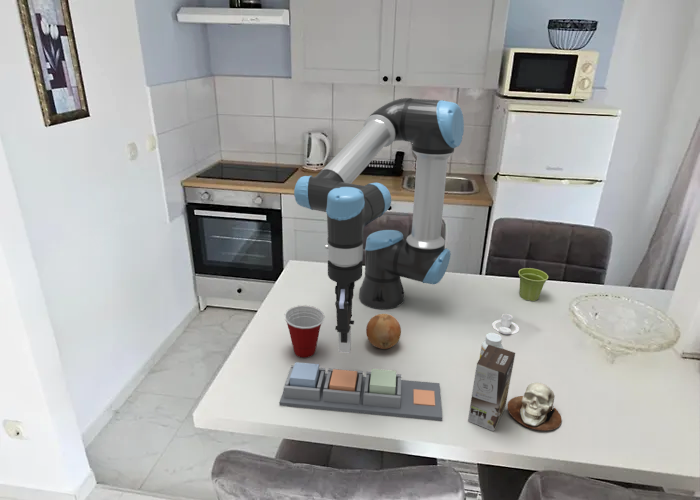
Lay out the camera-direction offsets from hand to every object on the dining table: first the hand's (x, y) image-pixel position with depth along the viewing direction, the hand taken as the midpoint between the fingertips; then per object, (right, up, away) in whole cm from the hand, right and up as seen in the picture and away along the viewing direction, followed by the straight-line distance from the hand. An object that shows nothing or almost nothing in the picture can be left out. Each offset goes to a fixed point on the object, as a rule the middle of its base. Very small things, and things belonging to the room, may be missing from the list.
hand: (344, 350), depth 114 cm
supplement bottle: (+38, -8, +16) cm, 42 cm away
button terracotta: (0, -10, +4) cm, 11 cm away
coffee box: (+33, -15, -1) cm, 36 cm away
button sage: (+9, -10, +3) cm, 14 cm away
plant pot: (+62, +7, +51) cm, 81 cm away
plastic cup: (-11, -5, +21) cm, 24 cm away
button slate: (-10, -8, +5) cm, 14 cm away
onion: (+11, -4, +24) cm, 26 cm away
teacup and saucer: (+46, -1, +34) cm, 57 cm away
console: (+4, -12, +5) cm, 14 cm away
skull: (+44, -15, 0) cm, 47 cm away
